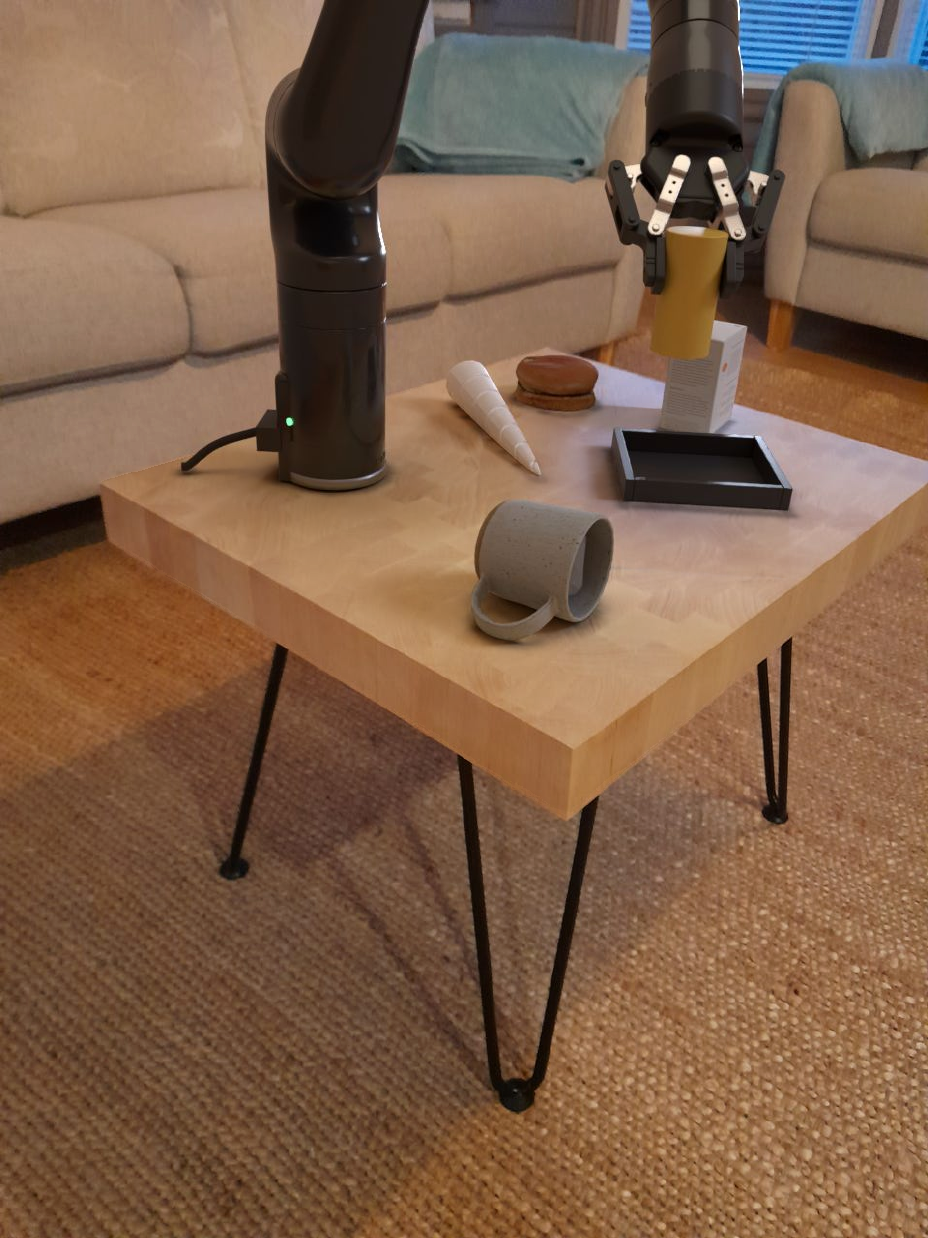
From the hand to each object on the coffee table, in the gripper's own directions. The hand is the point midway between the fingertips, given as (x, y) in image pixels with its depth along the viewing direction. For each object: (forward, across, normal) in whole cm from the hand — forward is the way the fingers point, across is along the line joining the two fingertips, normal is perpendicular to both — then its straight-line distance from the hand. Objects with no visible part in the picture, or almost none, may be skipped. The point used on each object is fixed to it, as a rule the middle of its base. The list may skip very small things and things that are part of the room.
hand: (693, 290), depth 78 cm
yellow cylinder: (+2, 0, +5) cm, 6 cm away
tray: (+6, +5, +22) cm, 24 cm away
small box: (-6, +8, +34) cm, 35 cm away
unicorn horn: (-1, -14, +30) cm, 33 cm away
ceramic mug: (+25, -11, +4) cm, 27 cm away
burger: (-10, -7, +38) cm, 40 cm away
